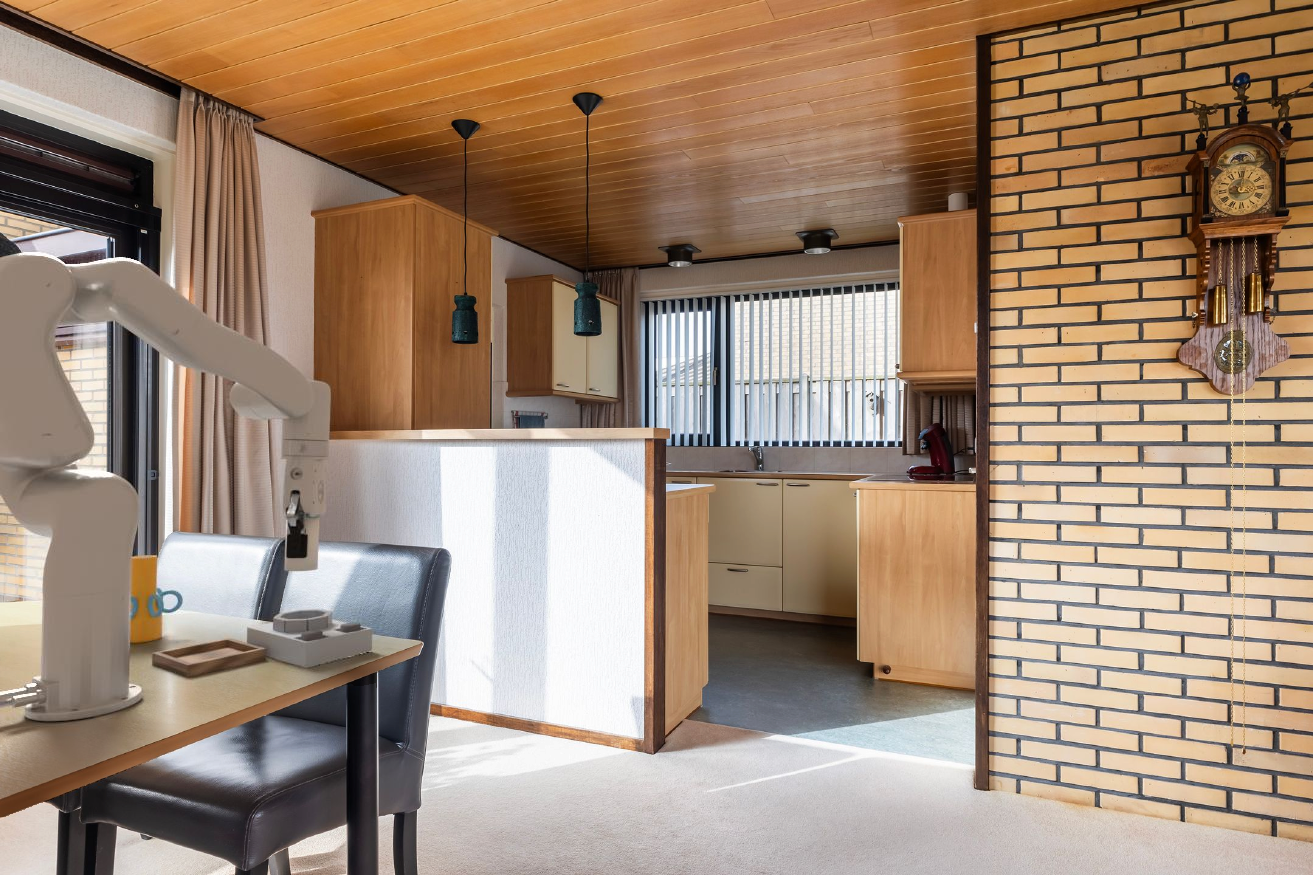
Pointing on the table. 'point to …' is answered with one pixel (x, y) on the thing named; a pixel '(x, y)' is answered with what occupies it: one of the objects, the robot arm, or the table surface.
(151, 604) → the cylinder
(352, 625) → the plunger right
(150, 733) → the table surface
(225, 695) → the table surface
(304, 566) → the cylinder
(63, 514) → the robot arm
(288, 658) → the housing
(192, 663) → the tray
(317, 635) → the plunger left
